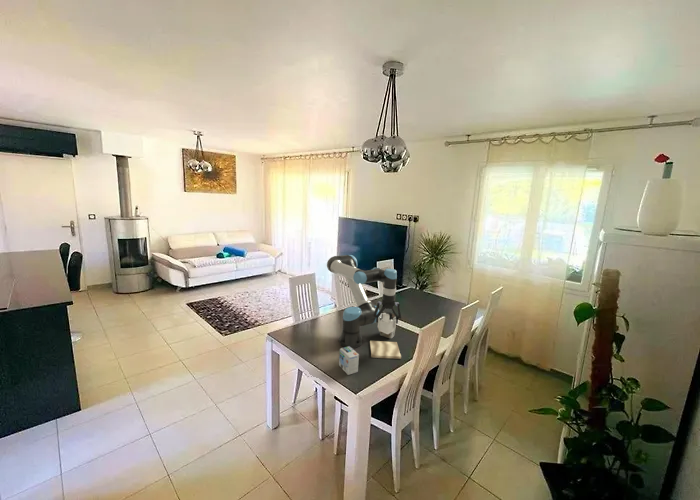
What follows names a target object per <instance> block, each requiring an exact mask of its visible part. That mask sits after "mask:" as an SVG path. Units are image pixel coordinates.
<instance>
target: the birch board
mask: <svg viewBox="0 0 700 500" xmlns="http://www.w3.org/2000/svg"><path fill="white" fill-rule="evenodd" d="M369 347H370V357H371V358H374V359H375V358H376V359H377V358H378V359H397V360H401V359H402V354H401V353H400V352H401V351H400V347H399V345H398V342H397V341H385V340H384V341H380V340H370V341H369Z"/></svg>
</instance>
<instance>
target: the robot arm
mask: <svg viewBox="0 0 700 500" xmlns="http://www.w3.org/2000/svg"><path fill="white" fill-rule="evenodd" d="M358 265H359V264H358V260H357V258H356V257H355V256H354V255H352V254H345V255H334V256H331V257H330V258H328V260H327V262H326V267H327V270H328V271H330V272H331V273H333V274H339V275H341V276H344V277H345V279H346V281H347V284H348V287H349V289H350V291H351V294H352V296H353V299H354V301H355V304H356V306H348V307H347V308H345V309H344V311H343V314H342V328H341V329H342V330H341V331H342V332H341V334H340V335H339V338H338V339H339V340H338V343H339V345H340V346H341V347H342V348H344V347H348V346H350V347H351V348H352V349H356V348H357V349H358V348H359V347H361V346H362V344H363V339H362V335H361V327H364V326H368V325H372V324H375V323H376V324H377V325H376V326H377V329H379V321H380V320H381V316H382V314H383V313H384V310H385V309H386V310H387V309H388V310H391V311H392V314H394V315H395V317H396V318H395V319H394V321H395V322H394V329H395V330H396V329H397V328H396V327H397V324H398V323H399V319H402V314H401V311H400V310H401V309H400V303H399V302H398V301H397V302H396V289H397V279H398V278H397V277H398V275H397V273H398V272H397V270H396V269H394V268H385V269H382V268H380V267H373V268H371V269H369V270H368V269H367V270H363V269H360V268H358ZM375 282H381V283H383V288H382V300H381V301H377V302H376V304H377V305H375V304H373V302H372V301H371V300H369V298H368V296H367V294H366V292H365V290H364V289H365V288H363V287H364V286H363V285H364V284H369V283H375ZM381 305H382V306H381ZM380 306H381V308H380ZM394 307H396V310H397V312H396V310H395V309H394Z"/></svg>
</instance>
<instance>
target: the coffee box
mask: <svg viewBox="0 0 700 500" xmlns="http://www.w3.org/2000/svg"><path fill="white" fill-rule="evenodd" d="M384 312H387V311H384ZM382 316H383V313H381V315H380V320H381V319H382ZM395 318H396V317H395V315H394V313H392V320H394V319H395ZM395 332H396V329H394V331H393V332H391V333H389V334H385V333H383V332H380V331H379V336H382V337H384V338H388V339H390V340H391V339H393V337H394V336H395V335H396V333H395Z"/></svg>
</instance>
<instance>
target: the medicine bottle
mask: <svg viewBox="0 0 700 500" xmlns="http://www.w3.org/2000/svg"><path fill="white" fill-rule="evenodd" d="M382 314H383V316H382V315H381V316H382V319H381V318H380V321H379V328H378V332H379V333H380V332H383V333H385V334H389V333H391V332H393V331H394V322H395V321H394V320H392V314H393V312H389V311H386V312H385V311H383V312H382Z"/></svg>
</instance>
